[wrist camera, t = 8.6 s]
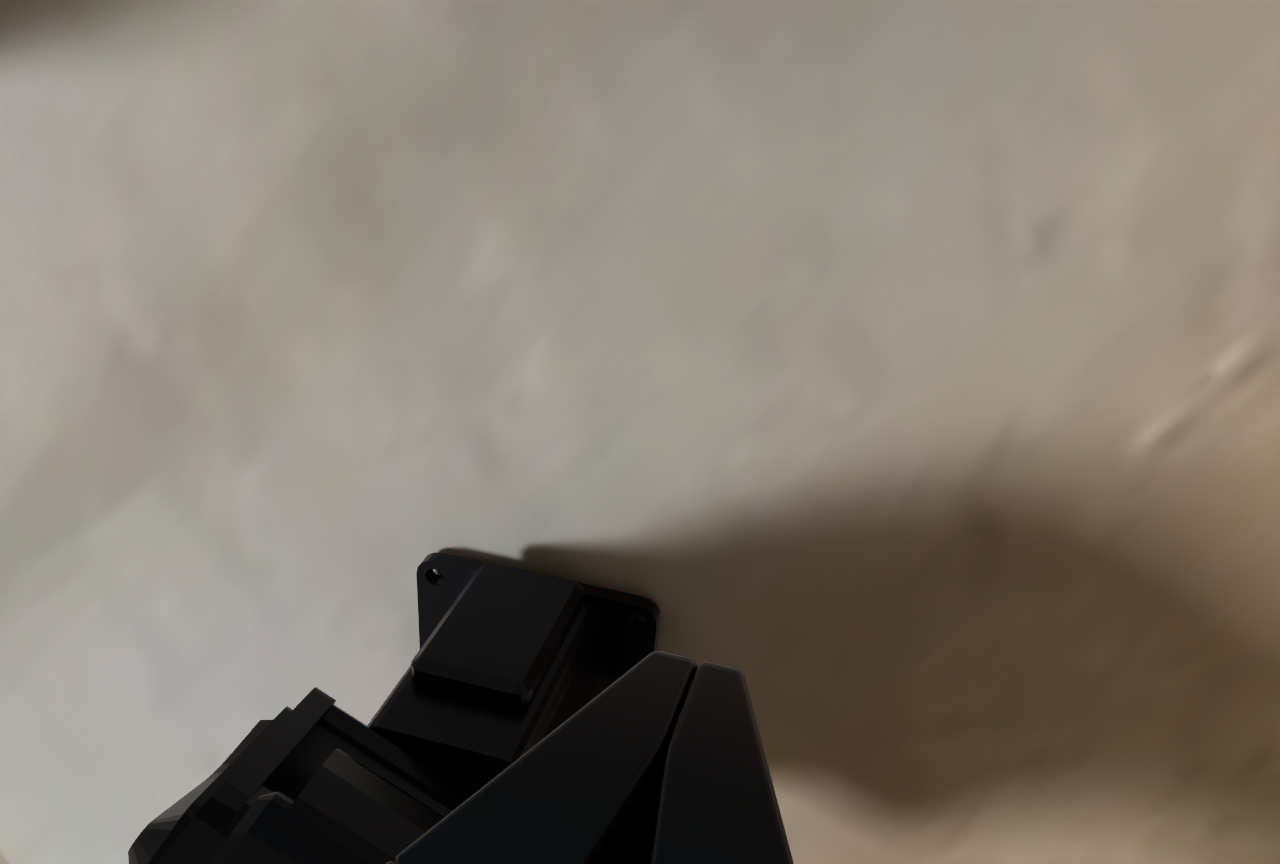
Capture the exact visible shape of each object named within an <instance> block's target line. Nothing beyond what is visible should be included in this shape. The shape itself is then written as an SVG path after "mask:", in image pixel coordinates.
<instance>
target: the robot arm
mask: <svg viewBox="0 0 1280 864" xmlns="http://www.w3.org/2000/svg"><path fill="white" fill-rule="evenodd" d="M433 569H435V570H438V571H439V572H440V573H441V574H442V576H443V577H441V576H439V575H437V574H436V573H435V572H434V571H433ZM417 590H418V613H419V636H420V650H419V652H418V653H417V654H416V656H415V657H414V659H413V661H412V664H411V666H410V667H409V669H408V670H407V671H406V673H405V674H404V676H403V677H402V678H401V680H400V681H399V682H398V684H397V685H396V687H395V688H394V689H393V691H392V692H391V694H390V695H389V696H388V698H387V699H386V701H385V702H384V703H383V705H382V706H381V708H380V709H379V710H378V712H377V713H376V714H375V716H374V717H373V719H372V720H371V721H370V723H369V724H368V726H366V725H365V724H363V723H362V722H360V721H358V720H357V719H355V718H354V717H352V716H351V715H349V714H348V713H346V712H345V711H343V710H341V709H340V708H338V707H337V706H335V705H334V703H335V702H336V700H335V699H333V698H331V697H330V696H328V695H327V694H325V693H324V692H322V691H321V690H319V689H318V688H316V687H315V688H314V689H313V690H312V691H311V692H310V693H309V694H308V695H307V696H306V697H305V698H304V699H303V700H302V701H301V702H300V703H299V704H298V705H297V706H296V708H295V709H294V710H292V709H291V708H289V707H286V708H285V709H284V710H283V711H282V712H281V713H280V714H279V715H278V716H277V717H276V718H275V719H274V720H260V721H259V722H258V724H257V725H256V726H255V727H254V728H253V729H252V731H251V732H250V733H249V734H248V735H247V736H246V738H245V739H244V740H243V741H242V742H241V743H240V744H239V746H238V747H237V748H236V749H235V750H234V751H233V753H232V754H231V755H230V756H229V757H228V758H227V759H226V760H225V762H224V763H223V764H222V765H221V766H220V767H219V768H218V769H217V770H216V771H215V772H214V773H213V774H212V775H211V776H210V777H209V778H207V779H206V780H205V781H204V782H203V783H201V784H200V785H199V786H197V787H196V788H195V789H193V790H192V791H191V792H189V793H188V794H187V795H186V796H184V797H183V798H182V799H180V800H179V801H178V802H176V803H175V804H174V805H172V806H171V807H170V808H169V809H167V810H166V811H165V812H163V813H162V814H161V815H159V816H158V817H157V818H155V819H154V820H153V821H152V822H150V823H149V824H148V825H147V827H146V828H145V829H144V830H143V831H142V832H141V834H140V835H139V836H138V837H137V839H136V840H135V842H134V843H133V844H132V846H131V848H130V849H129V852H128V856H129V864H794V863H793V859H792V855H791V852H790V848H789V844H788V840H787V836H786V833H785V829H784V825H783V821H782V817H781V814H780V810H779V806H778V802H777V798H776V795H775V791H774V787H773V783H772V779H771V776H770V772H769V768H768V764H767V760H766V757H765V753H764V749H763V745H762V741H761V738H760V734H759V730H758V726H757V722H756V719H755V715H754V711H753V707H752V703H751V700H750V696H749V692H748V688H747V684H746V681H745V677H744V675H743V673H742V671H741V670H739V669H737V668H734V667H729V666H725V665H721V664H716V663H712V662H707V661H703V662H701V663H700V664H699V665H698V666H697V665H696V662H695V661H694V660H693V659H692V658H690V657H685V656H681V655H677V654H672V653H668V652H663V651H657V647H658V636H659V626H660V610H659V609H658V607H657V605H656V604H655V603H654V602H652V601H651V600H650V599H647V598H645V597H642V596H637V595H633V594H628V593H623V592H619V591H614V590H609V589H605V588H600V587H596V586H591V585H586V584H582V583H577V582H574V581H570V580H565V579H561V578H556V577H551V576H547V575H542V574H538V573H533V572H528V571H524V570H519V569H514V568H510V567H505V566H501V565H496V564H491V563H485V562H480V561H475V560H471V559H466V558H461V557H457V556H452V555H448V554H443V553H432V554H429V555H428V556H427V557H426V558H425V559H424V561H423V562H422V563H421V564H420V565H419V567H418V569H417ZM632 614H640V615H642V616H643V617H644V618H645V619H646V621H640V620H638V619H636V618H635V617H634V616H633V615H632Z"/></svg>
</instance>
